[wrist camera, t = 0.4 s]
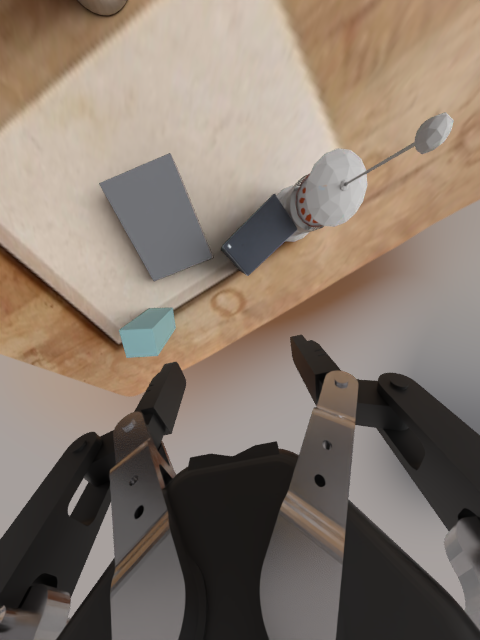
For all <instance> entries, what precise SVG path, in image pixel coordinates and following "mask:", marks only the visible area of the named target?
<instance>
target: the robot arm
mask: <svg viewBox="0 0 480 640" xmlns="http://www.w3.org/2000/svg"><path fill="white" fill-rule="evenodd" d="M78 1H79V2H80V3H81V4H82V5H83V6H84V7H86V8H87V9H89V10H90V11H92V12H94V13H97V14H100V15H111V14H114V13H116V12H118V11H119V10H120V9H121V8H122V7H123V6H124V4H125V3H126V1H127V0H78ZM290 340H291V350H292V357H293V361H294V364H295V365H296V368H297V370H298V371H299V373H300V375H301V377H302V379H303V381H304V383H305V385H306V387H307V389H308V391H309V393H310V395H311V397H312V399H313V401H314V403H315V404H316V406H317V407H316V408H314V409H313V411H312V414H311V417H310V420H309V424H308V427H307V430H306V434H305V437H304V440H303V444H302V447H301V450H300V454H299V455H297V454H295V453H293V452H290V451H288V450H284V449H278V444H277V442H271V443H266V444H260V445H255V446H253V447H251V448H249V449H247V450H245V451H243V452H241V453H239V454H237V455H235V456H224V455H217V454H207V455H201V456H196V457H191V458H190V461H189V466H188V467H187V468H185V469H184V470H182V471H181V472H180V473H178V474H177V475H176V473H175V471H174V469H173V466H172V464H171V462H170V459H169V456H168V454H167V451H166V448H165V446H164V443H163V442H162V438H163V435H168V434H172V430H173V427H174V424H175V420H176V417H177V413H178V410H179V407H180V404H181V400H182V397H183V394H184V390H185V387H186V379H185V377H184V375H183V373H182V370H181V368H180V366H179V364H178V363H177V362H172V363H168V364H165V365H164V366H163V368H162V370H161V372H160V373H158V374H157V375H156V376H155V377H154V378H153V379H152V381H151V383H150V384H149V387H148V388H147V390H146V392H145V393H144V395H143V397H142V399H141V401H140V402H139V404H138V406H137V408H136V410H135V411H134V412H133V413H130V414H128V415H127V416H125V417H124V418H123V419H122V420H121V421H120V422H119V423H118V424H117V425H116V427H115V429H114V430H113V431H111V432H109V433H107V434H105V435H103V436H101V437H99V436H98V435H97V434H96V433H95V432H89V433H86V434H84V435H82V436H81V437H79V438H78V439H77V440H75V441H74V442H73V443H72V444H71V445H70V446H69V447H68V448H67V450H66V451H65V452H64V454H63V455H62V457H61V458H60V459H59V461H58V462H57V463H56V465H55V466H54V467H53V469H52V470H51V471H50V473H49V474H48V476H47V477H46V478H45V480H44V481H43V482H42V484H41V485H40V486H39V488H38V489H37V490H36V492H35V493H34V494H33V496H32V497H31V499H30V500H29V501H28V503H27V504H26V505H25V507H24V508H23V509H22V511H21V512H20V514H19V515H18V516H17V518H16V519H15V520H14V522H13V523H12V524H11V526H10V527H9V529H8V530H7V531H6V533H5V534H4V535H3V537H2V538H1V539H0V640H480V435H479V434H477V433H476V432H475V431H474V430H473V429H471V428H470V427H469V426H468V425H467V424H465V423H464V422H463V421H462V420H461V419H459V418H458V417H457V416H456V415H455V414H453V413H452V412H451V411H450V410H449V409H447V408H446V407H445V406H444V405H443V404H442V403H440V402H439V401H438V400H437V399H436V398H434V397H433V396H432V395H431V394H430V393H428V392H427V391H426V390H425V389H424V388H422V387H421V386H420V385H419V384H418V383H416V382H415V381H414V380H412V379H411V378H409V377H407V376H404V375H401V374H396V373H384V374H382V375H380V376H379V378H378V381H370V380H358V379H356V378H355V377H354V376H352V375H351V374H349V373H347V372H343V371H341V370H340V369H339V367H338V366H337V365H336V364H335V363H334V362H333V360H332V359H331V358H330V357H329V356H328V354H327V353H326V352H325V351H324V350H323V349H322V347H321V346H320V345H319V344H318V343H316V342H314V341H312V340H310V341H306V339H305V338H304V337H303V335H297V336H293V337H290ZM355 425H361V426H368V427H375V428H377V430H378V431H379V433H380V434H381V435H382V436H383V438H384V440H385V441H386V443H387V444H388V445H389V447H390V448H391V449H392V451H393V452H394V454H395V455H396V457H397V458H398V460H399V461H400V462H401V464H402V465H403V467H404V468H405V470H406V471H407V472H408V474H409V475H410V477H411V478H412V480H413V481H414V482H415V484H416V485H417V486H418V488H419V489H420V491H421V492H422V494H423V495H424V497H425V498H426V499H427V501H428V502H429V504H430V505H431V507H432V508H433V509H434V511H435V512H436V514H437V515H438V517H439V518H440V519H441V521H442V522H443V524H444V525H445V526H446V528H447V529H448V531H449V532H448V533H447V535H446V537H445V541H444V545H445V550H446V554H447V556H448V559H449V561H450V563H451V565H452V567H453V568H454V571H455V572H456V574H457V576H458V578H459V580H460V583H461V585H462V588H463V592H464V596H465V611H464V610H463V609H462V607H461V606H460V605H459V604H458V603H457V602H456V601H455V600H454V598H453V597H452V596H451V595H450V594H449V593H448V592H447V591H446V590H445V589H444V588H443V587H442V586H441V585H440V584H439V583H438V582H437V581H436V580H435V579H433V578H432V577H431V576H430V575H429V574H428V573H427V572H426V571H425V570H424V569H423V568H422V567H420V566H419V565H418V564H417V563H416V562H415V561H414V560H413V559H412V558H411V557H410V556H409V555H408V554H407V553H405V552H404V551H403V550H402V549H401V548H400V547H399V546H398V545H397V544H396V543H395V542H394V541H393V540H392V539H390V538H389V537H388V536H387V535H386V534H385V533H384V532H383V531H382V530H381V529H380V528H379V527H378V526H376V525H375V524H374V523H373V522H372V521H371V520H370V519H369V518H368V517H367V516H366V515H365V514H364V513H362V512H361V511H360V510H359V509H358V508H357V507H356V506H355V505H354V504H353V503H352V502H351V501H350V500H348V497H349V486H350V474H351V464H352V453H353V442H354V430H355ZM83 478H85V479H86V480H87V481H88V484H87V486H86V488H85V490H84V492H83V494H82V495H81V497H80V499H79V501H78V503H77V505H76V506H75V508H74V510H73V512H72V514H71V515H70V516H69V515H68V505H69V503H70V501H71V498H72V497H73V495H74V493H75V492H76V490H77V488H78V487H79V485H80V483H81V481H82V480H83ZM110 502H111V506H112V521H113V539H114V555H115V558H114V559H113V561H112V562H111V564H110V565H109V566H108V568H107V569H106V570H105V572H104V573H103V575H102V576H101V577H100V579H99V580H98V582H97V583H96V584H95V586H94V587H93V588H92V590H91V591H90V593H89V594H88V595H87V597H86V598H85V600H84V601H83V602H82V604H81V605H80V607H79V608H78V609H77V611H76V612H75V614H74V615H73V616H72V618H71V619H70V618H68V615H69V610H70V602H71V599H70V598H71V596H72V593H73V591H74V589H75V586H76V584H77V581H78V579H79V577H80V574H81V572H82V570H83V567H84V565H85V562H86V560H87V558H88V555H89V553H90V550H91V548H92V546H93V543H94V541H95V538H96V536H97V534H98V531H99V529H100V526H101V524H102V522H103V519H104V517H105V514H106V512H107V510H108V507H109V505H110Z"/></svg>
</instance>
